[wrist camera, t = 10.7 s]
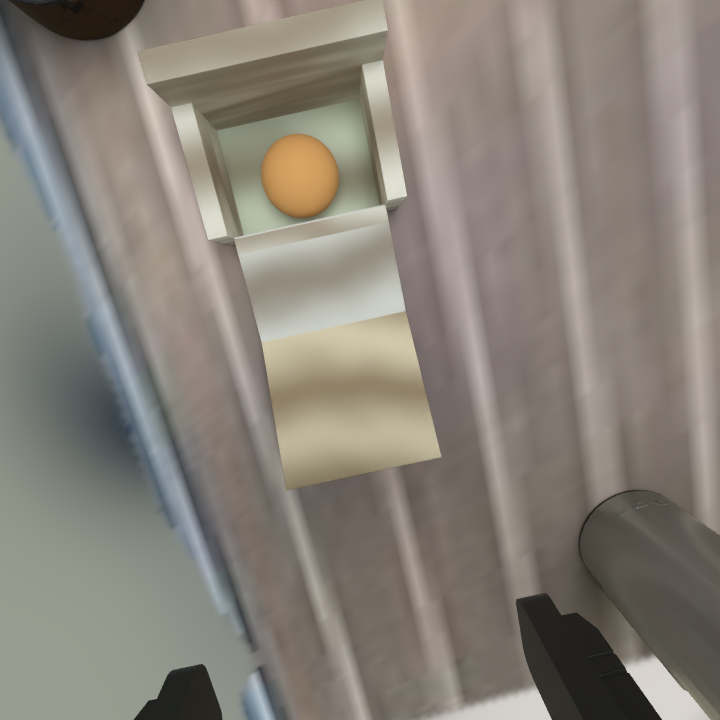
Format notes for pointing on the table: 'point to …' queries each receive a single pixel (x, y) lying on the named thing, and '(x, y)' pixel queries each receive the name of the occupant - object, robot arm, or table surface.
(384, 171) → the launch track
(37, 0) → the olive oil
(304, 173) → the ball
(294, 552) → the table surface
